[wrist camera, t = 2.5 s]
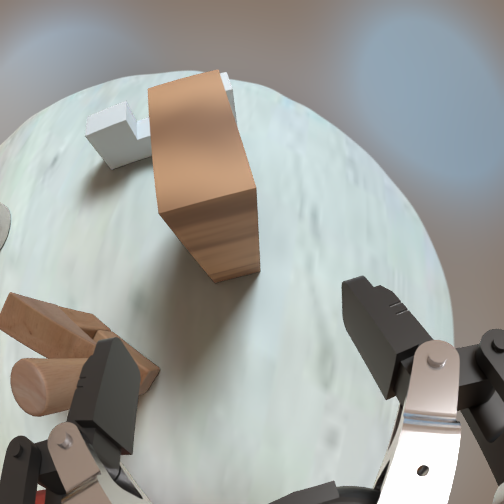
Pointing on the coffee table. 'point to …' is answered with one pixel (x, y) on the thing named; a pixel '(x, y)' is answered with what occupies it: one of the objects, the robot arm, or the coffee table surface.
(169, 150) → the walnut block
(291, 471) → the coffee table surface
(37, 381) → the brown notched handled part
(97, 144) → the white notched u-shaped brace
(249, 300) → the coffee table surface
